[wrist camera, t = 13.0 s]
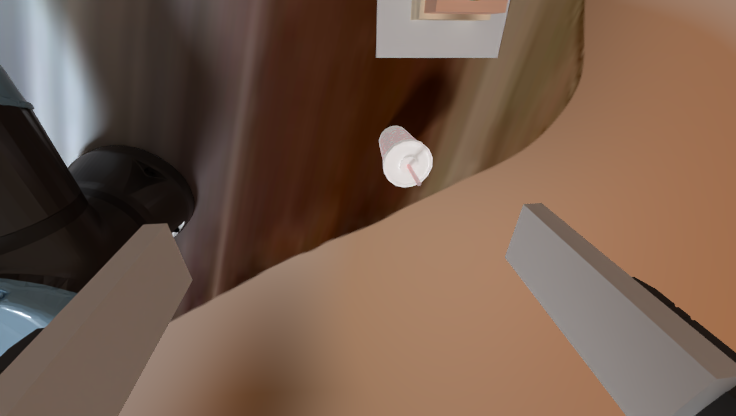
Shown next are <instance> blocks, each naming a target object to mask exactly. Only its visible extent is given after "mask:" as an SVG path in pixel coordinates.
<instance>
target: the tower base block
mask: <svg viewBox="0 0 736 416" xmlns="http://www.w3.org/2000/svg"><path fill="white" fill-rule="evenodd" d="M424 8H425V0H412V4H411V18H410V20H447V21H482V20H490V17H491V14H487V15H484V14H430V13H424Z"/></svg>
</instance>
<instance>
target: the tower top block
mask: <svg viewBox="0 0 736 416" xmlns="http://www.w3.org/2000/svg"><path fill="white" fill-rule="evenodd" d="M507 3H508V0H478V1H470V0H425V8H424V13H430V14H484V15H487V14H498V13H505V12H506V7H507Z"/></svg>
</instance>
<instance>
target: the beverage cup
mask: <svg viewBox="0 0 736 416" xmlns="http://www.w3.org/2000/svg"><path fill="white" fill-rule="evenodd" d="M379 146H380V150H381V154H382V159H383V170H384V173H385V175H386V177H387V179H388V181H390V182H391V183H393V184H394V185H395V186H400V187H412V186H415V185H418V186H420V185H421V182H422V181H423V180H424V179H425V178H426V177H427V176H428V175H429V173H430V170H431V168H432V159H433V157H432V155H431V153H430V150H429V149H428V148H427V147H426V146H425V145H424V144H423V143H422V142H421V141H417V140H416V139H415V138H414V137H413V136H412V135H410V134H409V133H408V132H407V131H406V130H405V129H404V128H403V127H400V126H390V127H388V128H387V129H385V130H384V131H383V132H382V134H381V135H380V138H379Z"/></svg>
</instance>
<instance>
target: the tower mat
mask: <svg viewBox="0 0 736 416" xmlns="http://www.w3.org/2000/svg"><path fill="white" fill-rule="evenodd" d="M509 3H510V0H508V3H507V7H506V12H505V13H498V14H491V17H490V20H482V21H447V20H410V18H411V4H412V0H377V33H376V58H497V57H498V53H499V48H500V44H501V39H502V34H503V30H504V25H505V21H506V16H507V12H508V7H509Z"/></svg>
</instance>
